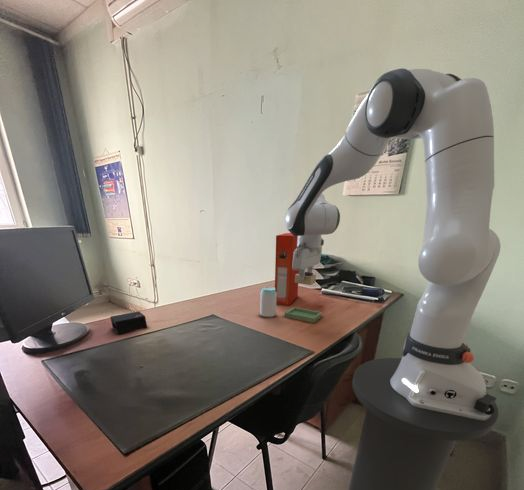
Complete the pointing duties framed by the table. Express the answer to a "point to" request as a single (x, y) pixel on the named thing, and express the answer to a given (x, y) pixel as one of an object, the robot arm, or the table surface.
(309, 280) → the cream rectangular box
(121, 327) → the electronic device
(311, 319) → the tray
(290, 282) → the file binder
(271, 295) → the can
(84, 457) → the table surface
